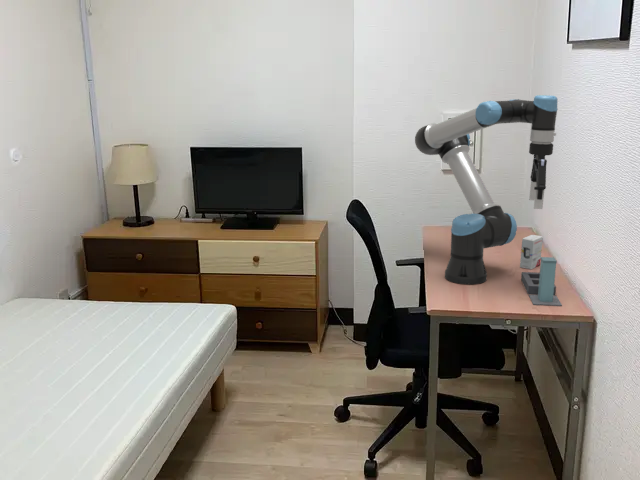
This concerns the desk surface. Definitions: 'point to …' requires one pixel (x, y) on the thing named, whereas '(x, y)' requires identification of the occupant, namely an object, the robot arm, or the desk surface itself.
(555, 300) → the pad
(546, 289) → the plug
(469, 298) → the desk surface
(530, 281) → the header
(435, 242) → the desk surface
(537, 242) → the ink box
